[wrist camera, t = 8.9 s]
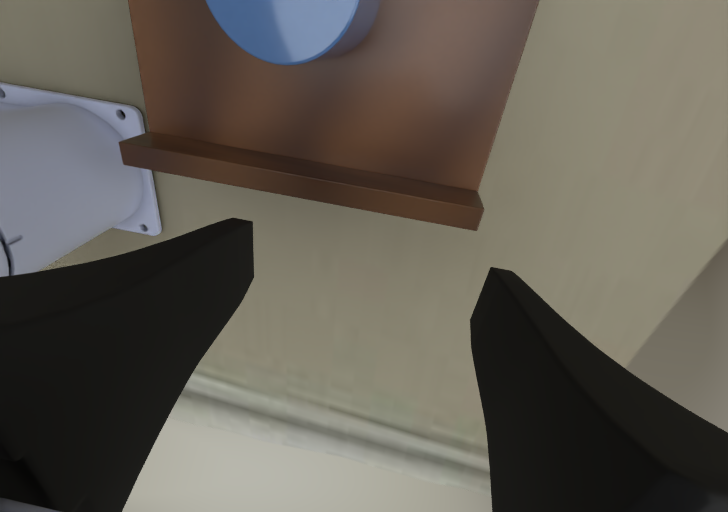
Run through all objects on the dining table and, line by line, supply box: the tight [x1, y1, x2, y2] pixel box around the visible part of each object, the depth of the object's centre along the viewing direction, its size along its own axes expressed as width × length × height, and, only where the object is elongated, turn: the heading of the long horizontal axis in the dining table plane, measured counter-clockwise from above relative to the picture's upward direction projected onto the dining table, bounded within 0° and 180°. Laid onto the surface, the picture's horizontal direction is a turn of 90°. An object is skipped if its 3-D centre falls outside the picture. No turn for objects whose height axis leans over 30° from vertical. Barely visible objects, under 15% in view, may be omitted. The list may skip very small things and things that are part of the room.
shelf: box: [119, 0, 539, 231], centre depth 15 cm, size 15×10×6 cm, turn 82°
